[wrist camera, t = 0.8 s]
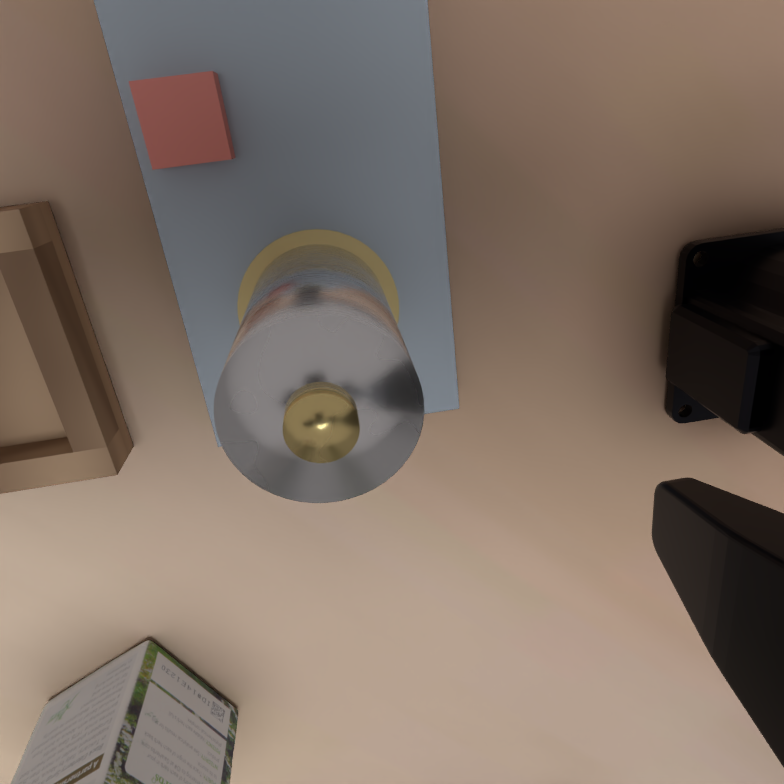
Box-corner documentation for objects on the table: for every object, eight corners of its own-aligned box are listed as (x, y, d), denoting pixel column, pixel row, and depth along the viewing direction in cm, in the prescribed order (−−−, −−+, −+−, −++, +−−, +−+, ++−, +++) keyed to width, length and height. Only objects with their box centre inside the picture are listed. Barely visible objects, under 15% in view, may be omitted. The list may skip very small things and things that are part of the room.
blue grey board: (392, -337, 13) (403, -404, 11) (452, 396, 21) (464, 419, 19) (22, -306, 13) (-23, -370, 11) (222, 432, 20) (214, 459, 18)
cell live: (377, 234, 17) (418, 309, 10) (393, 363, 19) (438, 502, 12) (237, 254, 17) (182, 344, 10) (266, 382, 18) (236, 535, 12)
